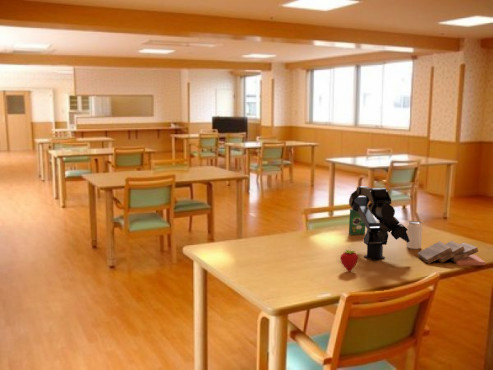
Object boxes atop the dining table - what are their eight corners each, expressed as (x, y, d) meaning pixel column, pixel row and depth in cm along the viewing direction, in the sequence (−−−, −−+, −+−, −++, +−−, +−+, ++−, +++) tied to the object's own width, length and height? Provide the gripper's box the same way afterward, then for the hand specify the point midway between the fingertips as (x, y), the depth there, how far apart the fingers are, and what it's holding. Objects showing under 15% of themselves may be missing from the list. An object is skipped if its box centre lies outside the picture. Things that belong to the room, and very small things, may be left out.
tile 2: (439, 258, 206) (463, 246, 207) (429, 252, 216) (451, 240, 216) (441, 262, 207) (465, 250, 207) (431, 256, 217) (453, 244, 217)
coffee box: (363, 233, 257) (363, 208, 255) (365, 234, 254) (366, 209, 252) (348, 234, 255) (349, 208, 253) (350, 235, 253) (351, 210, 251)
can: (418, 250, 226) (419, 224, 224) (404, 247, 230) (405, 222, 228) (422, 247, 231) (424, 221, 229) (409, 244, 235) (410, 220, 233)
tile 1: (426, 259, 207) (450, 247, 207) (417, 252, 217) (439, 241, 216) (428, 263, 207) (452, 251, 207) (419, 256, 217) (441, 245, 217)
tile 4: (457, 261, 206) (485, 262, 205) (449, 254, 215) (475, 254, 215) (457, 266, 206) (484, 266, 205) (449, 258, 216) (475, 259, 215)
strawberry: (336, 270, 198) (337, 246, 197) (350, 267, 203) (350, 243, 201) (347, 275, 194) (348, 250, 192) (361, 271, 198) (361, 247, 196)
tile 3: (453, 257, 206) (477, 247, 207) (441, 251, 216) (463, 242, 217) (454, 261, 207) (478, 251, 208) (442, 255, 216) (464, 246, 217)
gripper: (365, 223, 220) (389, 248, 221) (373, 234, 202) (399, 261, 203) (384, 206, 218) (408, 231, 220) (394, 215, 200) (420, 242, 201)
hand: (408, 241), depth 211 cm, fingers closed
